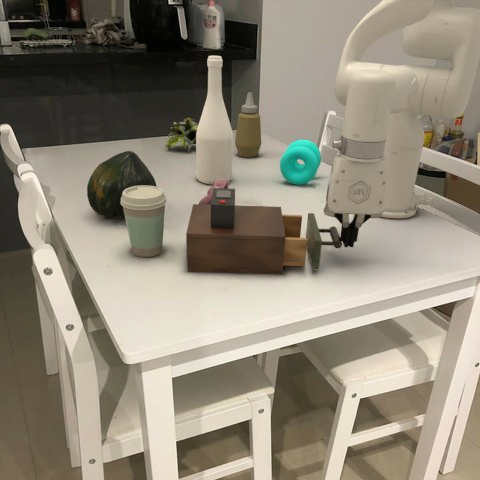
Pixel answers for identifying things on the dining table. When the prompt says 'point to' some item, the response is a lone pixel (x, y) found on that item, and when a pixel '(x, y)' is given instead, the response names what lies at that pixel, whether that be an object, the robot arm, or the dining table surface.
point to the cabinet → (236, 241)
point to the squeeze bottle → (248, 129)
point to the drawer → (305, 240)
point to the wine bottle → (214, 131)
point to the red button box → (222, 208)
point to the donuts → (297, 171)
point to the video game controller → (208, 198)
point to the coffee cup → (144, 218)
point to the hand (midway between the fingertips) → (347, 244)
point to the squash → (116, 182)
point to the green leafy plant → (183, 133)
